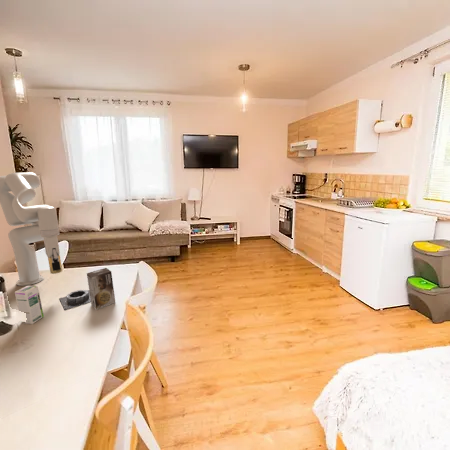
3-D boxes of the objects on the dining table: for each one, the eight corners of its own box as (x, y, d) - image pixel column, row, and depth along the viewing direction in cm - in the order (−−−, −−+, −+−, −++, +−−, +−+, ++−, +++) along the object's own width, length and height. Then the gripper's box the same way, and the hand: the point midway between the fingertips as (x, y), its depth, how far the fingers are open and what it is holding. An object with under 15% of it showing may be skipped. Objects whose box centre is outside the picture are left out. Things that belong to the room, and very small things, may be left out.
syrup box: (32, 324, 112) (26, 292, 108) (20, 323, 113) (14, 291, 110) (44, 316, 117) (38, 285, 114) (32, 315, 118) (26, 285, 115)
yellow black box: (49, 271, 133) (46, 255, 131) (61, 268, 136) (58, 253, 135) (51, 274, 130) (48, 257, 128) (63, 271, 133) (60, 255, 131)
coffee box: (110, 298, 132) (106, 267, 129) (115, 302, 128) (112, 270, 124) (90, 305, 126) (86, 272, 123) (95, 310, 122) (91, 276, 118)
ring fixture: (59, 298, 133) (58, 293, 132) (90, 290, 141) (89, 285, 141) (64, 310, 122) (63, 304, 122) (97, 300, 131) (96, 294, 130)
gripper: (38, 230, 133) (44, 265, 137) (43, 237, 120) (49, 275, 124) (56, 228, 137) (61, 261, 141) (62, 234, 124) (67, 271, 129)
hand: (55, 267), depth 133 cm, fingers closed on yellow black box, 5 cm apart
